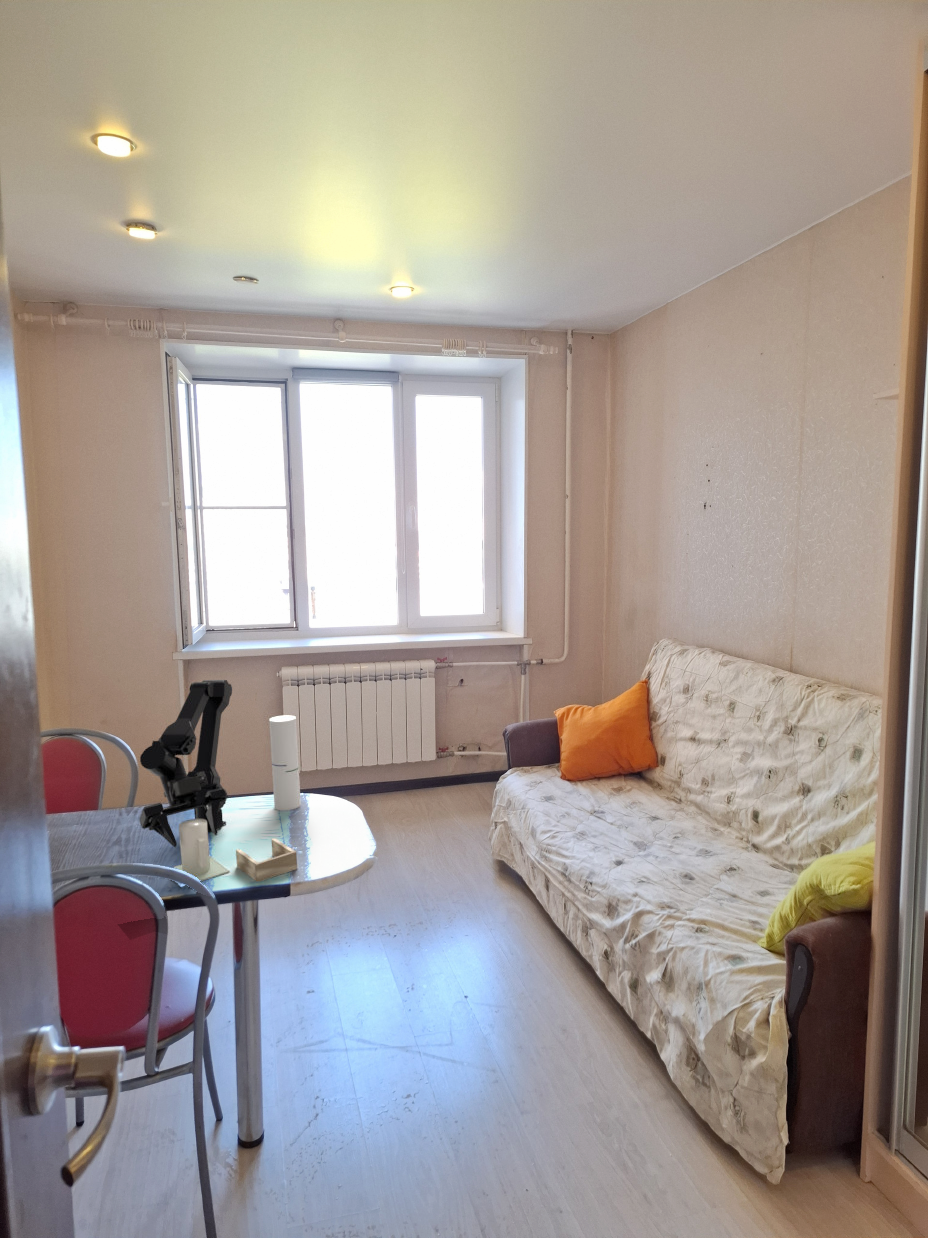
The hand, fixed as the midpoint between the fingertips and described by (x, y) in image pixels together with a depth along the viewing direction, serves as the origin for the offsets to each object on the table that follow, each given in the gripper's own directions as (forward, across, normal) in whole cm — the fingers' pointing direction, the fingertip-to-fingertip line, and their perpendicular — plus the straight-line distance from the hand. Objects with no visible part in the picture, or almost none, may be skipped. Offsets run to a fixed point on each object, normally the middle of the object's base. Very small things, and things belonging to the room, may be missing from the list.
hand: (196, 840), depth 171 cm
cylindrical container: (-12, +35, +24) cm, 44 cm away
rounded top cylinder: (+4, 0, +6) cm, 8 cm away
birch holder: (+10, +13, +1) cm, 16 cm away
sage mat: (+5, 0, +6) cm, 8 cm away
